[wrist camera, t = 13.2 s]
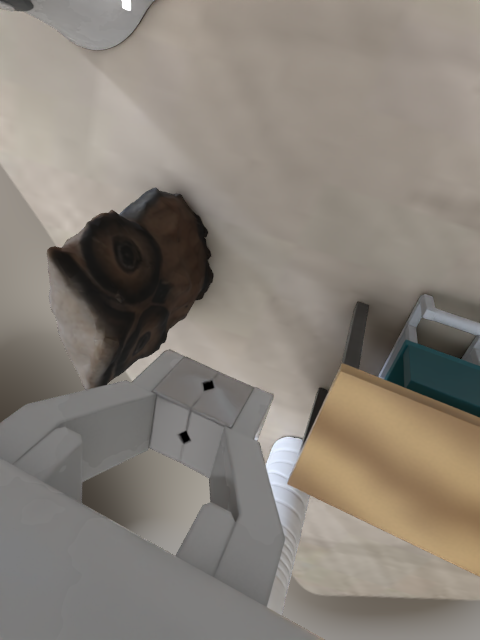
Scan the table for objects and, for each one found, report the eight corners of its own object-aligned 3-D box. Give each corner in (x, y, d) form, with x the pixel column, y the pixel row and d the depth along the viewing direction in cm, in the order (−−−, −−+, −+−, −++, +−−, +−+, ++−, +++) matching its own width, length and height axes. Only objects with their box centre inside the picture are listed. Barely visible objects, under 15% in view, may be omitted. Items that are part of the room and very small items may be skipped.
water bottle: (291, 476, 54) (226, 692, 33) (264, 443, 53) (179, 644, 32) (341, 459, 49) (303, 698, 29) (312, 423, 49) (250, 643, 28)
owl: (179, 177, 41) (27, 208, 24) (253, 265, 42) (159, 354, 25) (121, 247, 47) (-28, 310, 31) (187, 321, 49) (78, 420, 32)
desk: (356, 298, 39) (339, 370, 28) (537, 364, 36) (608, 479, 24) (314, 394, 47) (286, 484, 35) (461, 456, 43) (487, 580, 31)
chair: (420, 288, 37) (429, 343, 27) (505, 316, 35) (547, 386, 25) (370, 382, 43) (363, 454, 33) (441, 410, 41) (455, 494, 32)
